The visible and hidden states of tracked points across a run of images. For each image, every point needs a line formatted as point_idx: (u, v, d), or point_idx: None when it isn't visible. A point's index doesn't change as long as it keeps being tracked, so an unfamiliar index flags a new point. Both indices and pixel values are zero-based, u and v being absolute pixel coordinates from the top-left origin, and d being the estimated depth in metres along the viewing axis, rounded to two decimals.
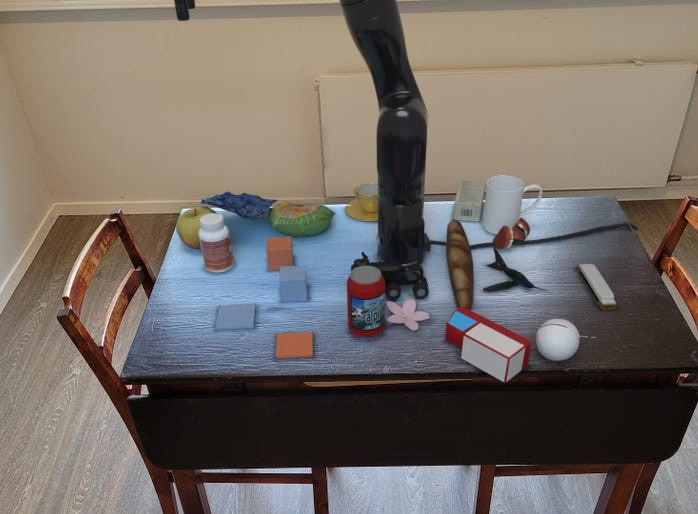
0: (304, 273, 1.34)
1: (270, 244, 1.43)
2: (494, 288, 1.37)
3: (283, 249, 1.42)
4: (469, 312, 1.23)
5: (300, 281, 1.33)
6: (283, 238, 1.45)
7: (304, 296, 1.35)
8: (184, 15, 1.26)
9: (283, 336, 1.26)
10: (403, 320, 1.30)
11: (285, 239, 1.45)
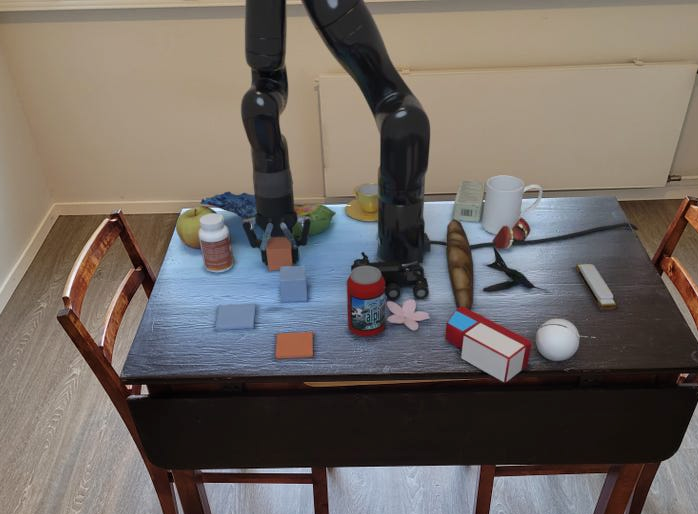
0: (304, 273, 1.34)
1: (270, 244, 1.43)
2: (494, 288, 1.37)
3: (283, 249, 1.42)
4: (469, 312, 1.23)
5: (300, 281, 1.33)
6: (283, 238, 1.45)
7: (304, 296, 1.35)
8: (262, 260, 1.45)
9: (283, 336, 1.26)
10: (403, 320, 1.30)
11: (285, 239, 1.45)
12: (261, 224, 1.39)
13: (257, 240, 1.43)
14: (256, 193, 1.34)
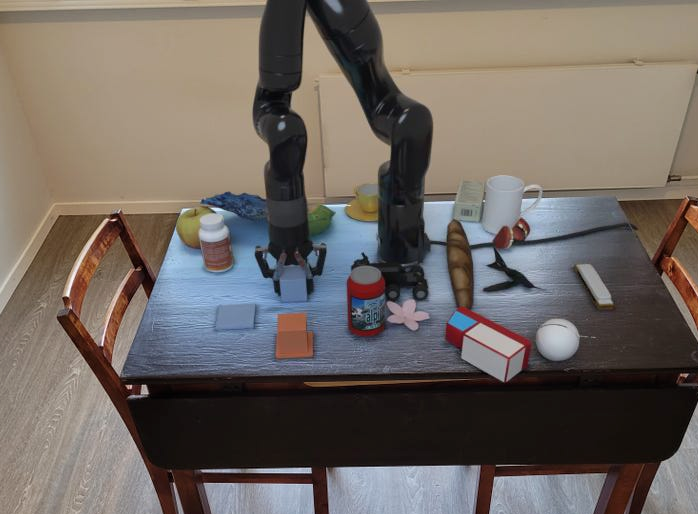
0: (304, 273, 1.34)
1: (282, 322, 1.21)
2: (494, 288, 1.37)
3: (296, 330, 1.20)
4: (469, 312, 1.23)
5: (300, 281, 1.33)
6: (296, 315, 1.23)
7: (304, 296, 1.35)
8: (274, 290, 1.37)
9: None
10: (403, 320, 1.30)
11: (299, 316, 1.23)
12: (274, 253, 1.31)
13: (269, 270, 1.34)
14: (269, 222, 1.25)
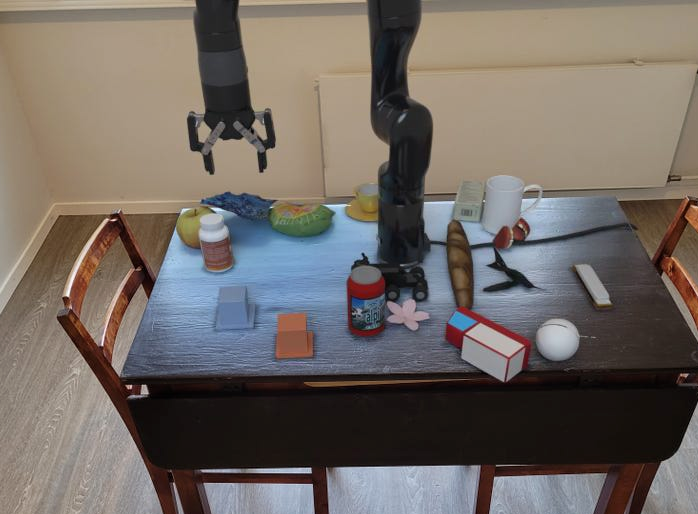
0: (244, 294, 1.28)
1: (282, 322, 1.21)
2: (494, 288, 1.37)
3: (296, 330, 1.20)
4: (469, 312, 1.23)
5: (239, 303, 1.27)
6: (296, 315, 1.23)
7: (244, 318, 1.29)
8: (205, 168, 1.20)
9: None
10: (403, 320, 1.30)
11: (299, 316, 1.23)
12: (211, 124, 1.14)
13: None
14: (202, 81, 1.09)
